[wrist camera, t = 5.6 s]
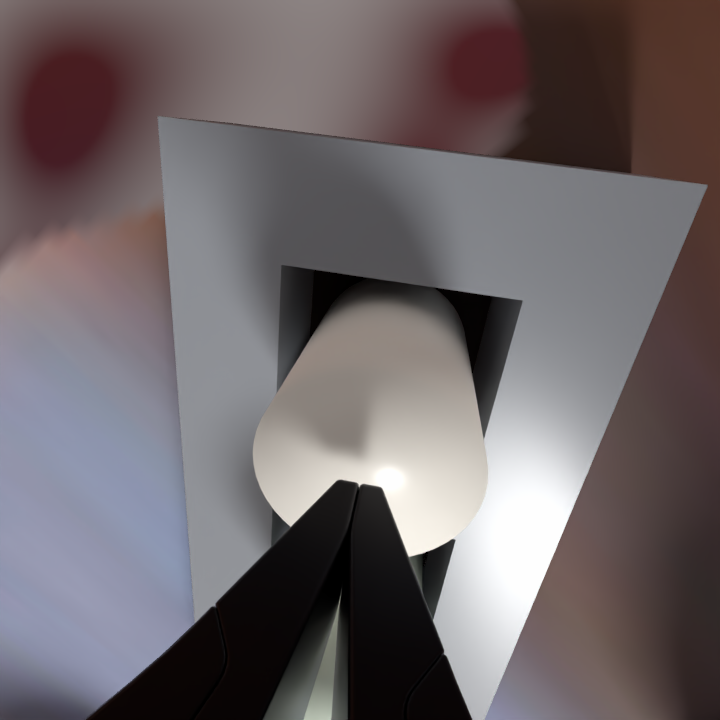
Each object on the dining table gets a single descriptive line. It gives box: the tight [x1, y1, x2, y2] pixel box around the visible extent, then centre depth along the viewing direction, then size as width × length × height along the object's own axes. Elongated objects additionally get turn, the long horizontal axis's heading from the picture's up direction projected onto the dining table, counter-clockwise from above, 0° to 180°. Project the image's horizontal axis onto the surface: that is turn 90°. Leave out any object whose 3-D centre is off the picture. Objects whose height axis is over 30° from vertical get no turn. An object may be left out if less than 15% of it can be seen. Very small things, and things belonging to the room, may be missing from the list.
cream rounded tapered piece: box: [253, 278, 488, 557], centre depth 12 cm, size 5×5×6 cm
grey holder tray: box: [158, 116, 708, 720], centre depth 18 cm, size 12×28×4 cm, turn 174°
